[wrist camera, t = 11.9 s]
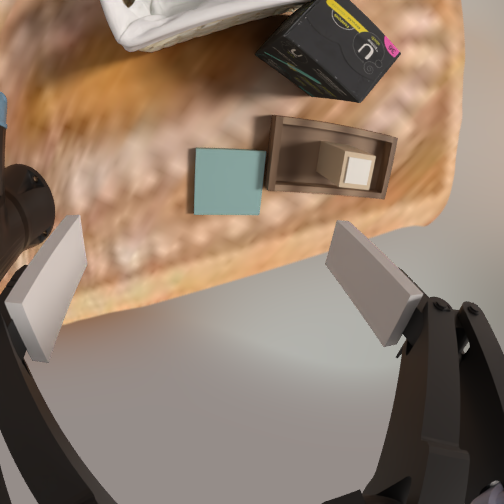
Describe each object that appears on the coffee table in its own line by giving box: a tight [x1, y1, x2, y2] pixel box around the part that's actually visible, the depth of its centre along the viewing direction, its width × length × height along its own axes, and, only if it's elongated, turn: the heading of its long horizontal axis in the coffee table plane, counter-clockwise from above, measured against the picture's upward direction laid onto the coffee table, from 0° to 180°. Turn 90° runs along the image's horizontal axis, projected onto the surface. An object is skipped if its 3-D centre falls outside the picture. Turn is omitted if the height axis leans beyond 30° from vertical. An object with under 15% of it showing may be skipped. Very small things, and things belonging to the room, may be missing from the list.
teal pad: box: [194, 148, 266, 215], centre depth 42 cm, size 10×10×1 cm
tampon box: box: [255, 0, 401, 103], centre depth 28 cm, size 11×9×15 cm
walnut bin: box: [264, 115, 398, 199], centre depth 42 cm, size 21×11×2 cm, turn 85°
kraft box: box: [316, 141, 376, 190], centre depth 40 cm, size 5×5×8 cm
